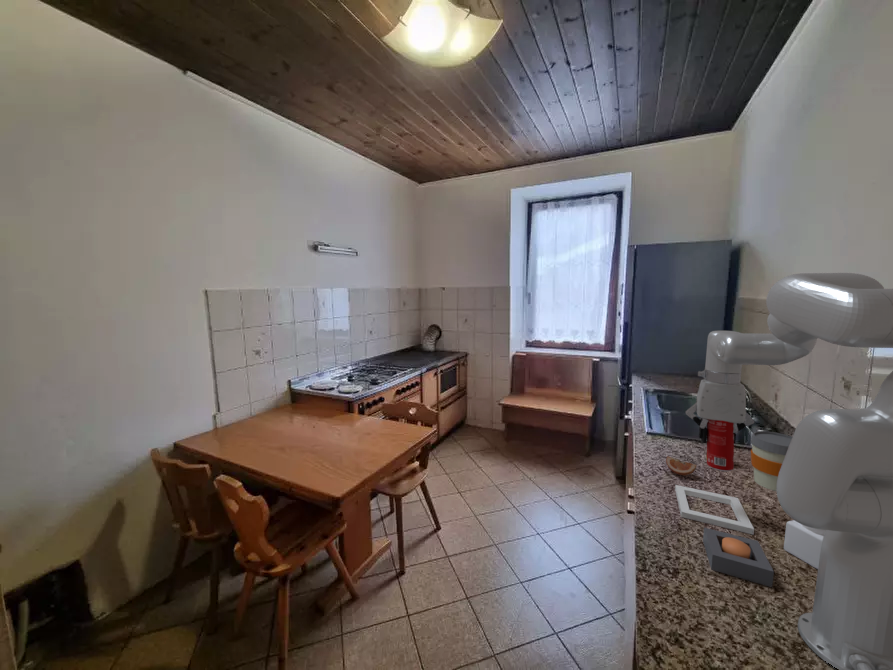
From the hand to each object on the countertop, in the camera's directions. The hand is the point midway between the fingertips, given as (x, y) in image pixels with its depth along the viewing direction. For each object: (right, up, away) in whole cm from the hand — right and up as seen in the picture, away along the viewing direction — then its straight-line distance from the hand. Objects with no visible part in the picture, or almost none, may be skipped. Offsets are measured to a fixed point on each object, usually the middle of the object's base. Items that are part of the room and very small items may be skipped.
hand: (716, 442), depth 94 cm
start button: (-9, -20, -17) cm, 27 cm away
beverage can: (+1, -7, 0) cm, 7 cm away
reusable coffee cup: (+29, -18, +15) cm, 38 cm away
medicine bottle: (+10, -22, -15) cm, 28 cm away
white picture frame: (0, -19, +2) cm, 19 cm away
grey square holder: (-9, -21, -17) cm, 29 cm away
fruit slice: (+4, -17, +21) cm, 28 cm away
